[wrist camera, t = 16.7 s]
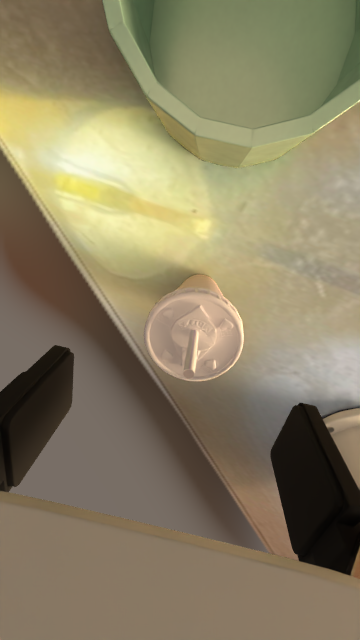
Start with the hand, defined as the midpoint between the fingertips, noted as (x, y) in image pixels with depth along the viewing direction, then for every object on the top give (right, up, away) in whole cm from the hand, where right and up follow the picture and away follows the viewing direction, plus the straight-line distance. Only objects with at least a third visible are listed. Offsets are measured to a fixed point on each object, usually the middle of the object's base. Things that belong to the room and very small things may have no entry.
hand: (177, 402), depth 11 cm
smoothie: (+2, +6, +14) cm, 16 cm away
